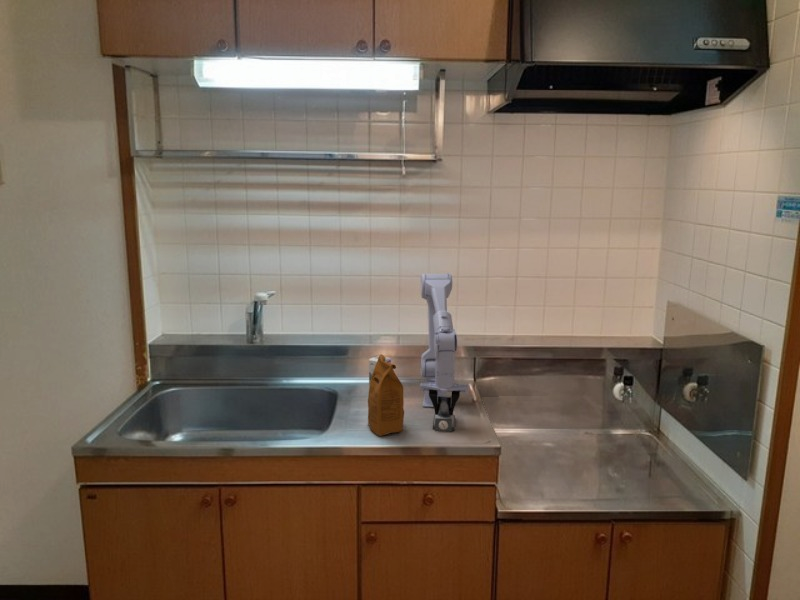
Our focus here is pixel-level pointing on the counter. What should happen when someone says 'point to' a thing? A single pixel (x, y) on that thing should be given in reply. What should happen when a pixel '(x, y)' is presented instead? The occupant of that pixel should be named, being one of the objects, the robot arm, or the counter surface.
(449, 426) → the dial scale
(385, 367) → the coffee package
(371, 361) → the syrup box
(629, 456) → the counter surface
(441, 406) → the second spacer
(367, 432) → the counter surface
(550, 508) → the counter surface
